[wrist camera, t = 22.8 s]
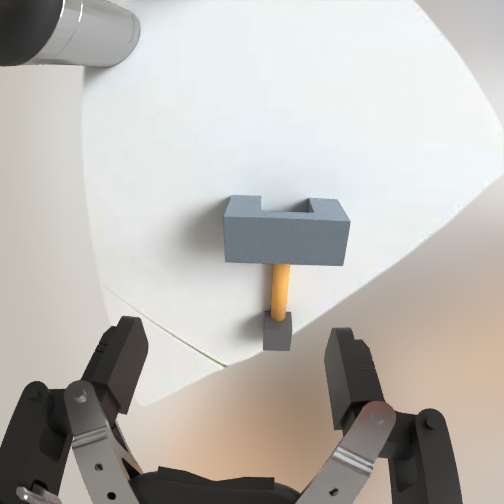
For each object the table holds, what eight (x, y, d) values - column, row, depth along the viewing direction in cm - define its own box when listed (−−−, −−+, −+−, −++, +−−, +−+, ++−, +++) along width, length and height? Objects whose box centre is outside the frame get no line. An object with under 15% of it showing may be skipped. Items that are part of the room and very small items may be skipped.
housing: (232, 234, 42) (225, 262, 36) (231, 195, 39) (223, 216, 33) (332, 238, 42) (342, 265, 35) (337, 199, 39) (350, 221, 32)
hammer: (263, 331, 51) (262, 350, 48) (266, 249, 43) (266, 265, 39) (288, 332, 51) (289, 350, 47) (297, 250, 43) (299, 266, 39)
